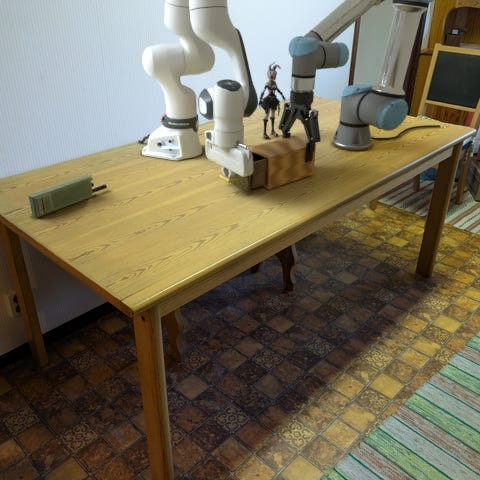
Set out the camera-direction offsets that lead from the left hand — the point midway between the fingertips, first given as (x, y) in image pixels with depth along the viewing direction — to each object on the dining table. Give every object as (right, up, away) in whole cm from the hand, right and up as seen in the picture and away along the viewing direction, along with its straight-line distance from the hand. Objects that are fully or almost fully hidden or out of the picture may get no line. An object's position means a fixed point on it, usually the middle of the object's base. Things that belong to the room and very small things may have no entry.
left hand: (228, 180), depth 157 cm
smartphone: (+33, +42, +83) cm, 99 cm away
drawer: (+8, 0, +7) cm, 11 cm away
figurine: (+16, +24, +52) cm, 59 cm away
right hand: (+23, +10, +14) cm, 28 cm away
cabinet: (+18, +3, +13) cm, 22 cm away
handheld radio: (-47, -8, -6) cm, 48 cm away
